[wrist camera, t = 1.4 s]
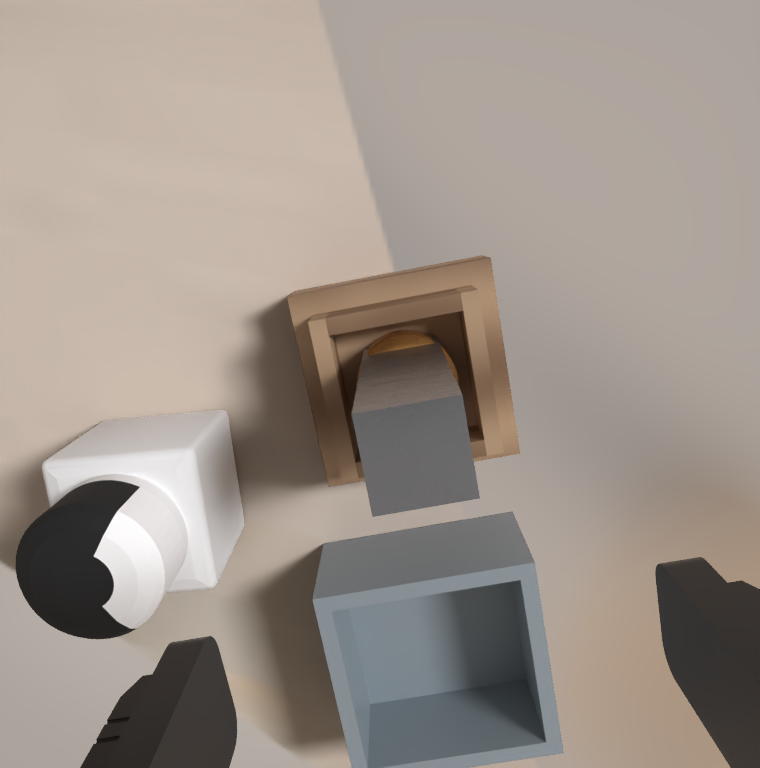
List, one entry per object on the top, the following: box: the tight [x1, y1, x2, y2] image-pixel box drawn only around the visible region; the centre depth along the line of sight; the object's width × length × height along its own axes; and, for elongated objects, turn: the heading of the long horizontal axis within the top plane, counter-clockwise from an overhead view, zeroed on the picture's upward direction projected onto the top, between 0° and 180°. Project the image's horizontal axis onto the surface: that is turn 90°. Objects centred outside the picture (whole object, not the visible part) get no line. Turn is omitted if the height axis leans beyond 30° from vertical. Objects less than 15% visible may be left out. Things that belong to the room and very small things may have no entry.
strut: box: [352, 329, 480, 517], centre depth 28 cm, size 5×5×12 cm
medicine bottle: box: [16, 410, 245, 639], centre depth 32 cm, size 7×7×12 cm
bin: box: [312, 512, 564, 768], centre depth 37 cm, size 11×11×6 cm
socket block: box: [287, 256, 520, 487], centre depth 34 cm, size 10×10×6 cm
